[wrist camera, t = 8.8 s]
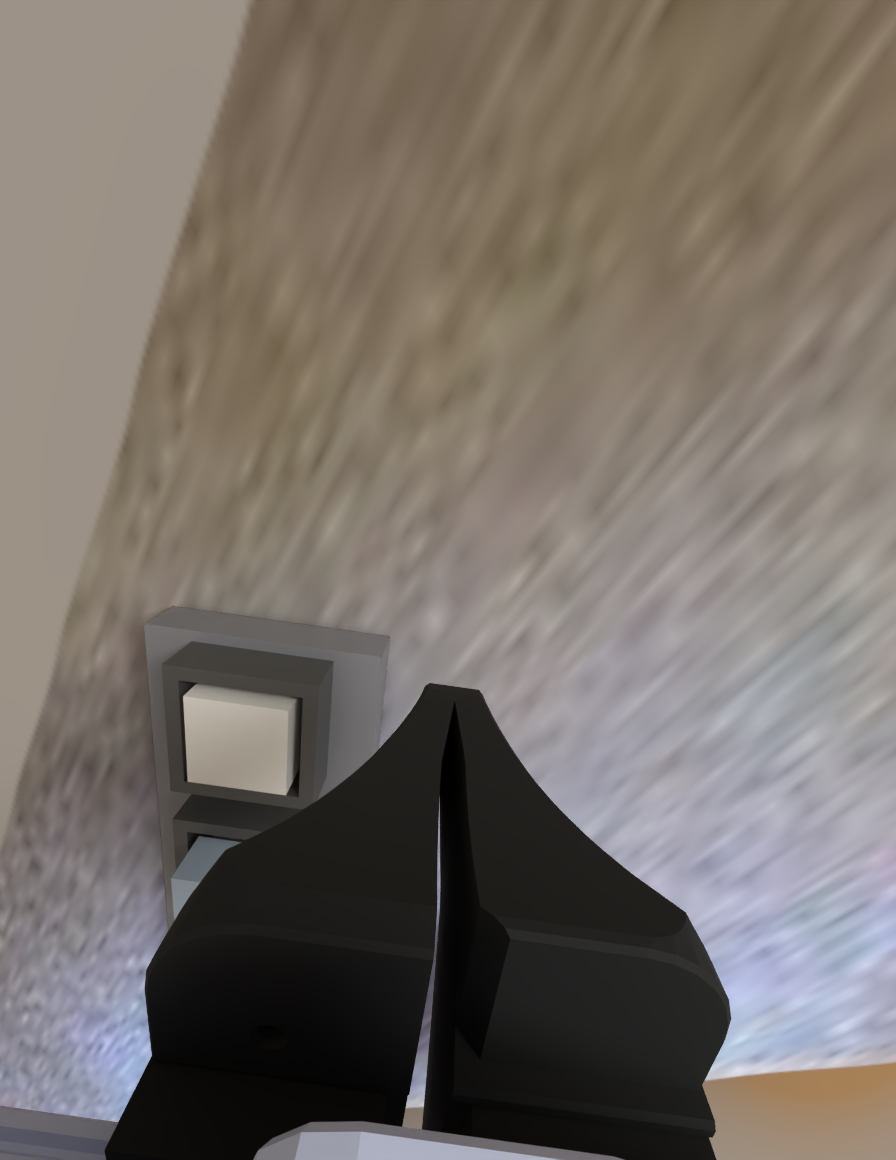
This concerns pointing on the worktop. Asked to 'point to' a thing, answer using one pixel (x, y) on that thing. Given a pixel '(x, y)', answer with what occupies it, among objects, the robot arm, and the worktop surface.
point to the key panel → (265, 664)
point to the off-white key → (242, 738)
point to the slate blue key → (196, 868)
